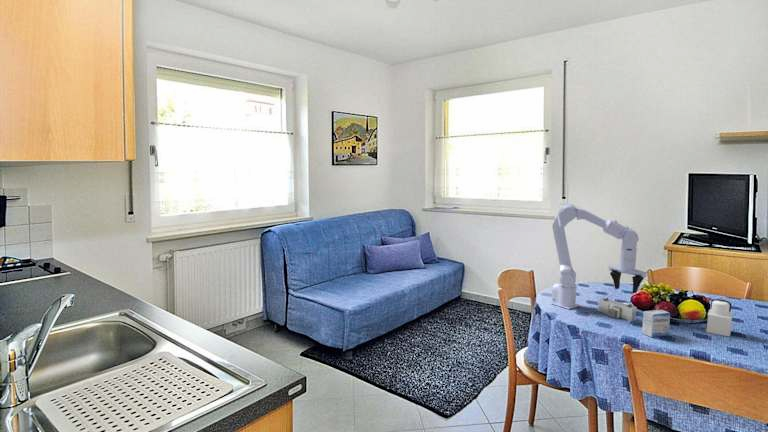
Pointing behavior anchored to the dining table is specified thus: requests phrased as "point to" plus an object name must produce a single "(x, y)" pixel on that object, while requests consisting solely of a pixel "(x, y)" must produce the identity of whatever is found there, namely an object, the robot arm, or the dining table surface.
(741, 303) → the dining table surface
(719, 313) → the medicine bottle
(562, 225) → the robot arm
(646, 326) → the medicine box
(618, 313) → the cream rectangular bar
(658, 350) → the dining table surface
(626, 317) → the bearing block
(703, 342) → the dining table surface
